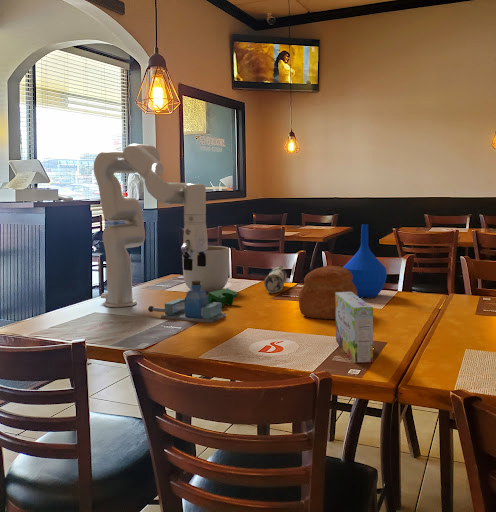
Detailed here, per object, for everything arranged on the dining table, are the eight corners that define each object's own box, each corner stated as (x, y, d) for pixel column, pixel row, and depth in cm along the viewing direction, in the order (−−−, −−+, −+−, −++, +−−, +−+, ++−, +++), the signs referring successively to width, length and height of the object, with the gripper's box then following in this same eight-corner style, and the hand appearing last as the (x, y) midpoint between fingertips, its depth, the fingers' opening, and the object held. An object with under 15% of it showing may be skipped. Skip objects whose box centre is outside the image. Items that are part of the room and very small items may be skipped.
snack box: (333, 341, 166) (334, 291, 164) (352, 341, 166) (353, 291, 165) (353, 364, 145) (354, 306, 143) (374, 363, 146) (375, 306, 144)
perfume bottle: (192, 312, 203) (192, 279, 201) (208, 313, 201) (207, 280, 199) (185, 315, 197) (184, 282, 196) (201, 317, 195) (200, 283, 193)
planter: (228, 294, 241) (227, 250, 238) (180, 295, 241) (179, 251, 239) (230, 286, 261) (230, 245, 259) (186, 286, 262) (185, 246, 259)
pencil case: (268, 285, 262) (268, 265, 261) (287, 286, 261) (287, 265, 260) (263, 294, 241) (263, 272, 240) (283, 294, 240) (283, 272, 238)
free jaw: (147, 313, 201) (146, 302, 201) (161, 308, 210) (161, 297, 209) (172, 315, 197) (172, 304, 196) (186, 310, 206) (185, 299, 205)
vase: (392, 294, 238) (393, 223, 234) (377, 301, 222) (378, 226, 219) (351, 290, 248) (352, 222, 244) (334, 297, 232) (335, 225, 229)
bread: (295, 317, 198) (295, 270, 196) (315, 305, 217) (315, 262, 215) (343, 322, 190) (343, 273, 188) (360, 309, 209) (360, 264, 207)
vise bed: (161, 318, 198) (160, 304, 198) (177, 311, 208) (176, 298, 208) (211, 322, 190) (211, 308, 190) (225, 316, 200) (225, 302, 200)
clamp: (219, 319, 215) (216, 300, 210) (208, 313, 219) (205, 294, 214) (240, 302, 222) (237, 284, 217) (229, 297, 226) (226, 279, 221)
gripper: (192, 221, 185) (192, 272, 188) (215, 218, 201) (215, 265, 203) (172, 220, 188) (172, 271, 191) (197, 217, 204) (197, 264, 206)
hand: (195, 268), depth 197 cm, fingers open, 9 cm apart
